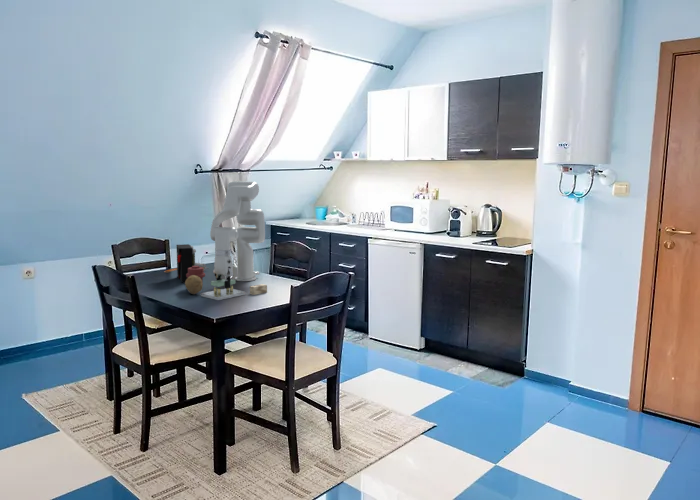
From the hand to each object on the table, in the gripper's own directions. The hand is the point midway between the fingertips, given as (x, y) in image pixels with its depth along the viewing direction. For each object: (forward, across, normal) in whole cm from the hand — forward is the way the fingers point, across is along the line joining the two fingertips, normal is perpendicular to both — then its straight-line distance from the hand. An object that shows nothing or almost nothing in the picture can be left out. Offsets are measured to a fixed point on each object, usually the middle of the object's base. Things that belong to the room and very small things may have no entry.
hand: (223, 287), depth 283 cm
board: (-1, 0, 0) cm, 1 cm away
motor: (+5, +73, -28) cm, 78 cm away
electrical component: (+4, +50, -12) cm, 52 cm away
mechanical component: (+5, +25, -1) cm, 26 cm away
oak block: (+4, -9, -16) cm, 19 cm away
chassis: (+4, 0, 0) cm, 4 cm away
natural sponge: (+5, +14, +8) cm, 17 cm away
